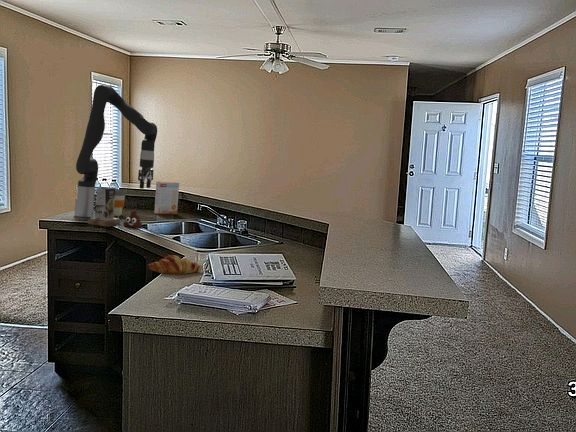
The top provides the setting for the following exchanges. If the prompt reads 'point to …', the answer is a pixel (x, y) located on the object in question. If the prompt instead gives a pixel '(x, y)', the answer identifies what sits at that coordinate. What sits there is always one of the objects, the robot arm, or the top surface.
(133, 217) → the poop emoji
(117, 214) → the reusable coffee cup
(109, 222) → the square wooden picture frame
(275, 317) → the top surface
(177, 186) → the cracker box
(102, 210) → the coffee box
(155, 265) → the croissant
